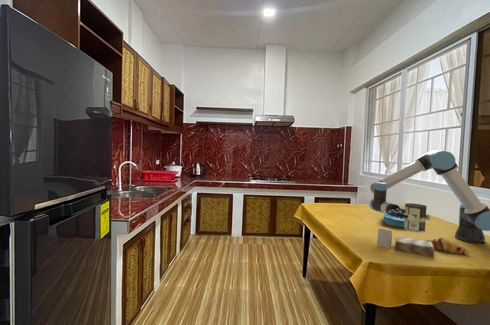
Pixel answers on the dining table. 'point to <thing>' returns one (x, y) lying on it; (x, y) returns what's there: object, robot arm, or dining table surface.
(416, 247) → the stand
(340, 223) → the dining table surface
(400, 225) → the casserole dish
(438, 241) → the croissant
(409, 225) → the coffee can
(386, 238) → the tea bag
